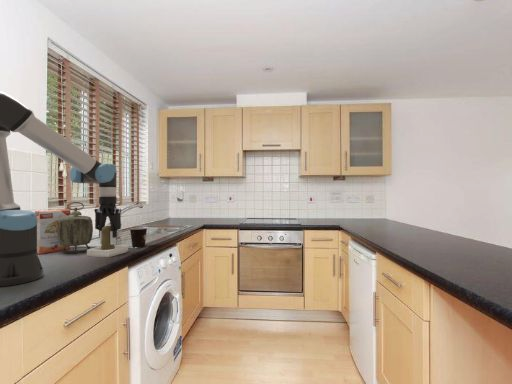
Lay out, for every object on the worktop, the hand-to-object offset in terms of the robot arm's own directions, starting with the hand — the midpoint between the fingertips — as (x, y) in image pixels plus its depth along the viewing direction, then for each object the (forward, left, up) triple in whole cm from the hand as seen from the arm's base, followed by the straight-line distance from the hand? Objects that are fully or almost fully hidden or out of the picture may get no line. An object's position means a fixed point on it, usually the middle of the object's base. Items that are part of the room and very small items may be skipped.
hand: (107, 244), depth 134 cm
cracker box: (-1, +32, -5) cm, 32 cm away
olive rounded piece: (0, 0, -2) cm, 2 cm away
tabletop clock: (0, +19, -5) cm, 20 cm away
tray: (0, 0, -5) cm, 5 cm away
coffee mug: (+17, -3, -5) cm, 18 cm away
